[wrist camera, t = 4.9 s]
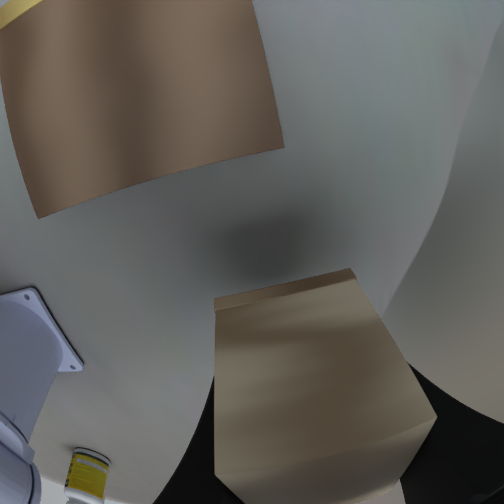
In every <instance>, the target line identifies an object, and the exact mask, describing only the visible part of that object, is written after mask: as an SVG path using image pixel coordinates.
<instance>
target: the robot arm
mask: <svg viewBox="0 0 504 504" xmlns="http://www.w3.org/2000/svg"><path fill="white" fill-rule="evenodd" d="M407 363H408V362H407ZM408 365H409V367H410V368H411V370H412V372H413V374H414V375H415V377H416V379H417V381H418V382H419V384H420V386H421V388H422V390H423V391H424V393H425V395H426V397H427V399H428V400H429V402H430V404H431V406H432V408H433V410H434V412H435V414H436V415H437V419H436V420H435V422H434V424H433V426H432V428H431V430H430V431H429V433H428V435H427V437H426V438H425V440H424V442H423V443H422V445H421V447H420V448H419V450H418V452H417V453H416V455H415V456H414V458H413V460H412V461H411V463H410V464H409V466H408V467H407V469H406V470H405V472H404V473H403V475H402V476H401V477H400V482H401V485H402V489H403V494H404V498H405V502H406V504H504V424H503V423H501V422H498V421H496V420H494V419H492V418H490V417H487V416H485V415H483V414H481V413H479V412H477V411H475V410H473V409H471V408H470V407H467V406H466V405H464V404H463V403H461V402H459V401H458V400H456V399H454V398H453V397H451V396H450V395H448V394H447V393H445V392H444V391H443V390H441V389H440V388H439V387H437V386H436V385H434V384H433V383H432V382H430V381H429V380H428V379H427V378H425V377H424V376H423V375H422V374H421V373H419V372H418V371H417V370H416V369H415V368H413V367H412V366H411V365H410V364H409V363H408ZM83 368H84V365H83V363H82V362H81V360H80V359H79V357H78V356H77V355H76V353H75V352H74V350H73V349H72V347H71V346H70V344H69V343H68V342H67V340H66V338H65V337H64V335H63V334H62V332H61V331H60V329H59V328H58V326H57V324H56V323H55V321H54V320H53V318H52V316H51V315H50V313H49V311H48V310H47V308H46V306H45V304H44V303H43V301H42V299H41V297H40V296H39V294H38V292H37V291H36V290H35V289H34V288H27V289H23V290H19V291H15V292H11V293H7V294H4V295H0V504H40V500H41V479H40V474H39V471H38V469H37V467H36V466H35V464H34V463H33V462H32V460H33V457H34V454H35V451H34V450H33V449H32V448H31V447H30V446H29V445H28V443H29V440H30V437H31V434H32V431H33V429H34V426H35V423H36V421H37V418H38V416H39V413H40V411H41V408H42V406H43V403H44V401H45V399H46V396H47V394H48V392H49V389H50V387H51V385H52V382H53V380H54V378H55V376H56V374H57V372H70V371H82V370H83ZM153 504H245V503H244V502H243V501H242V500H241V499H240V498H238V497H237V496H236V495H235V494H234V493H233V492H232V491H231V490H230V489H229V488H228V487H227V486H226V485H225V484H224V483H223V482H222V481H221V480H220V479H219V478H218V477H217V476H216V475H215V457H214V377H213V381H212V385H211V388H210V392H209V395H208V398H207V401H206V404H205V407H204V410H203V412H202V415H201V418H200V420H199V423H198V425H197V428H196V430H195V433H194V435H193V437H192V439H191V441H190V444H189V446H188V448H187V450H186V452H185V454H184V456H183V458H182V460H181V462H180V463H179V465H178V467H177V469H176V470H175V472H174V474H173V475H172V477H171V478H170V480H169V482H168V483H167V485H166V486H165V488H164V489H163V491H162V492H161V493H160V495H159V496H158V497H157V499H156V500H155V501H154V502H153Z"/></svg>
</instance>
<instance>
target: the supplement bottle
mask: <svg viewBox="0 0 504 504" xmlns="http://www.w3.org/2000/svg"><path fill="white" fill-rule="evenodd" d="M110 466H111V464H110V461H109V460H108V459H107V458H105V457H104V456H102V455H100V454H98V453H96V452H93V451H90V450H87V449H82V448H77V449H75V450H74V452H73V455H72V459H71V463H70V467H69V471H68V475H67V479H66V483H65V489H64V493H65V495H66V496H67V497H68V498H69V501H67V503H66V504H104V500H105V494H106V488H107V482H108V476H109V471H110Z"/></svg>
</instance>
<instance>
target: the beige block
mask: <svg viewBox="0 0 504 504" xmlns="http://www.w3.org/2000/svg"><path fill="white" fill-rule="evenodd" d="M214 311H215V314H216V323H215V372H214V457H215V475H216V476H217V477H218V478H219V479H220V480H221V481H222V482H223V483H224V484H225V485H226V486H227V487H228V488H229V489H230V490H231V491H232V492H233V493H234V494H235V495H236V496H237V497H238V498H240V499H241V500H242V501H243V502H244V503H245V504H355V503H358V502H361V501H364V500H367V499H370V498H373V497H376V496H379V495H382V494H385V493H388V492H390V491H391V490H392V489H393V487H394V486H395V484H396V483H397V482H398V480H399V479H400V477H401V476H402V475H403V473H404V472H405V470H406V469H407V467H408V466H409V464H410V463H411V461H412V460H413V458H414V456H415V455H416V453H417V452H418V450H419V448H420V447H421V445H422V443H423V442H424V440H425V438H426V437H427V435H428V433H429V431H430V430H431V428H432V426H433V424H434V422H435V420H436V419H437V415H436V414H435V412H434V410H433V408H432V406H431V404H430V402H429V400H428V399H427V397H426V395H425V393H424V391H423V390H422V388H421V386H420V384H419V382H418V381H417V379H416V377H415V375H414V374H413V372H412V370H411V368H410V367H409V365H408V363H407V361H406V360H405V358H404V356H403V355H402V353H401V351H400V350H399V348H398V346H397V345H396V343H395V341H394V340H393V338H392V336H391V335H390V333H389V331H388V330H387V328H386V327H385V325H384V323H383V322H382V320H381V318H380V317H379V315H378V314H377V312H376V311H375V309H374V307H373V306H372V304H371V303H370V301H369V300H368V298H367V297H366V295H365V294H364V292H363V290H362V289H361V287H360V286H359V284H358V283H357V281H356V276H355V275H354V273H353V272H352V270H351V269H350V268H348V269H343V270H339V271H335V272H331V273H327V274H323V275H319V276H314V277H310V278H306V279H301V280H297V281H293V282H288V283H284V284H279V285H275V286H270V287H266V288H261V289H257V290H252V291H247V292H243V293H238V294H233V295H228V296H224V297H219V298H214Z"/></svg>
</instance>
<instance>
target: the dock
mask: <svg viewBox="0 0 504 504" xmlns="http://www.w3.org/2000/svg"><path fill="white" fill-rule="evenodd" d="M0 78H1V85H2V91H3V97H4V103H5V108H6V113H7V118H8V123H9V127H10V132H11V136H12V140H13V144H14V148H15V151H16V155H17V159H18V162H19V165H20V169H21V172H22V175H23V178H24V181H25V185H26V188H27V190H28V193H29V196H30V199H31V202H32V205H33V207H34V210H35V213H36V215H37V218H38V219H40V218H43V217H45V216H48V215H50V214H53V213H55V212H58V211H60V210H63V209H66V208H68V207H71V206H74V205H76V204H79V203H82V202H85V201H87V200H90V199H93V198H96V197H99V196H102V195H105V194H108V193H111V192H114V191H117V190H120V189H123V188H126V187H129V186H132V185H136V184H139V183H142V182H145V181H149V180H152V179H156V178H159V177H162V176H166V175H170V174H173V173H177V172H180V171H184V170H188V169H192V168H196V167H200V166H203V165H207V164H212V163H216V162H220V161H224V160H228V159H233V158H237V157H242V156H246V155H251V154H256V153H261V152H265V151H271V150H276V149H281V148H284V142H283V137H282V132H281V127H280V122H279V117H278V112H277V107H276V102H275V97H274V93H273V88H272V83H271V79H270V74H269V70H268V65H267V61H266V57H265V52H264V48H263V44H262V40H261V36H260V32H259V28H258V24H257V20H256V16H255V12H254V8H253V4H252V0H10V1H9V2H8V3H6V4H5V5H4V6H2V7H1V8H0Z"/></svg>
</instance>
